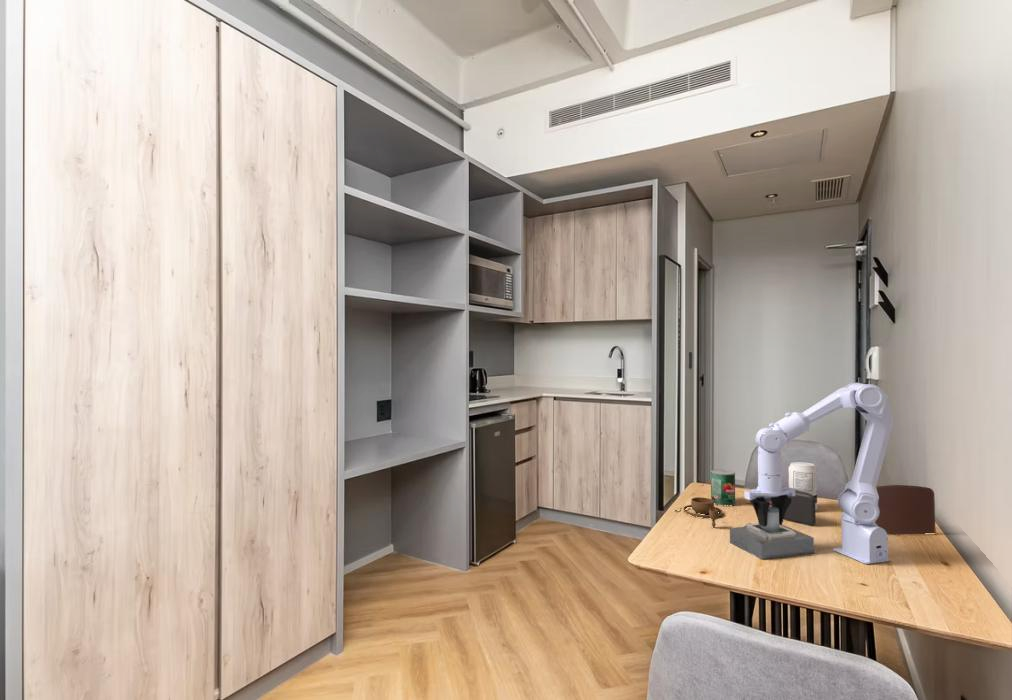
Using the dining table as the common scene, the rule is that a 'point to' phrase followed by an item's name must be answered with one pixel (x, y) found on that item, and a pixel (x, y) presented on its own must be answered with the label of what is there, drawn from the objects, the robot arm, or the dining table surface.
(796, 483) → the supplement can
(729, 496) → the canned tomato
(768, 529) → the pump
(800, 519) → the dark grey slab
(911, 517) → the letter holder
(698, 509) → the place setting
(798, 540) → the grey square pedestal
